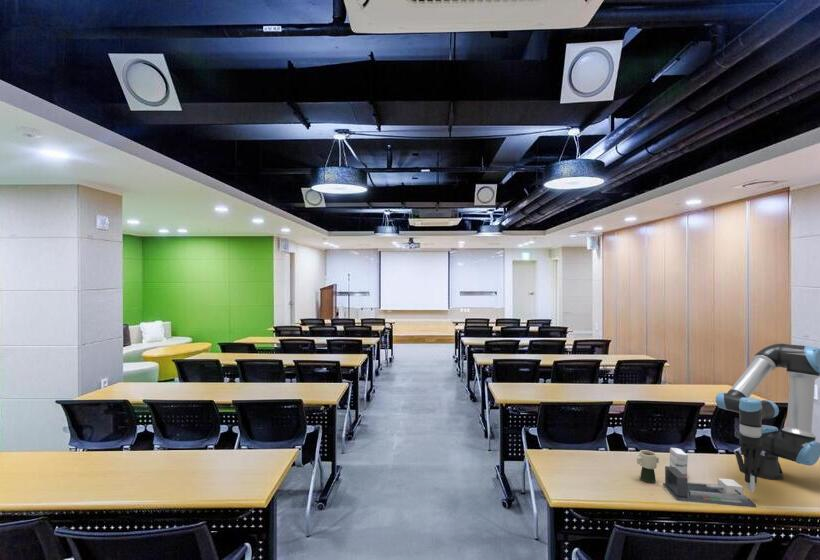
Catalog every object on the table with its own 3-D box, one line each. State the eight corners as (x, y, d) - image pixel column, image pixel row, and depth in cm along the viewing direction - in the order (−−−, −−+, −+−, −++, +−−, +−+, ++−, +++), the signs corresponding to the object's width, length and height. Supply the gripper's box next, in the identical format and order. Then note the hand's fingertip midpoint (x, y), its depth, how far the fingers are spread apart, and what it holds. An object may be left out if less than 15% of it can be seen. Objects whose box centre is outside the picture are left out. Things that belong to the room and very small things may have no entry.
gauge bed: (735, 491, 188) (735, 470, 188) (756, 507, 174) (755, 484, 175) (663, 485, 193) (663, 465, 193) (677, 500, 179) (677, 478, 180)
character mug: (653, 476, 202) (653, 449, 202) (664, 483, 195) (663, 455, 195) (632, 477, 201) (632, 450, 201) (642, 484, 194) (642, 456, 194)
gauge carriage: (732, 491, 185) (732, 479, 185) (748, 503, 175) (748, 490, 175) (703, 488, 187) (702, 477, 187) (716, 500, 177) (716, 488, 177)
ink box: (688, 480, 199) (688, 454, 200) (676, 478, 200) (676, 453, 201) (680, 472, 208) (680, 448, 208) (669, 471, 209) (668, 447, 209)
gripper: (761, 433, 184) (762, 487, 184) (728, 431, 186) (728, 484, 186) (773, 438, 177) (773, 495, 176) (739, 436, 179) (739, 492, 178)
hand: (750, 490), depth 181 cm, fingers closed
